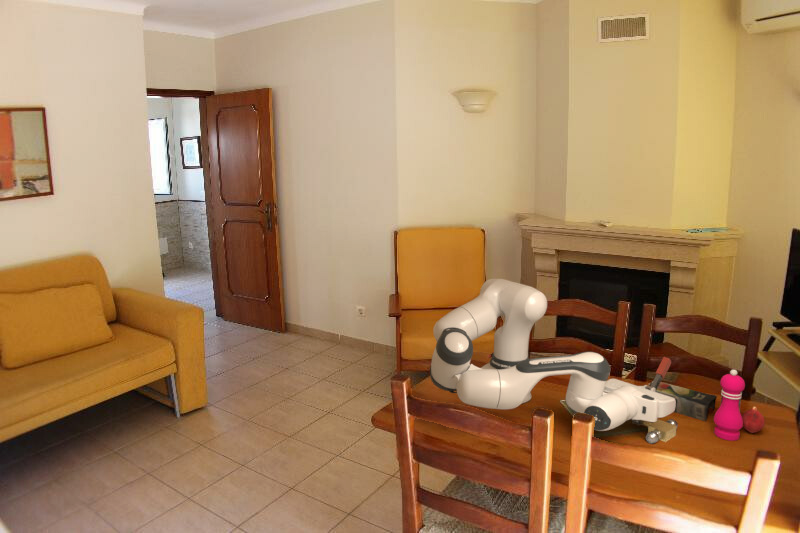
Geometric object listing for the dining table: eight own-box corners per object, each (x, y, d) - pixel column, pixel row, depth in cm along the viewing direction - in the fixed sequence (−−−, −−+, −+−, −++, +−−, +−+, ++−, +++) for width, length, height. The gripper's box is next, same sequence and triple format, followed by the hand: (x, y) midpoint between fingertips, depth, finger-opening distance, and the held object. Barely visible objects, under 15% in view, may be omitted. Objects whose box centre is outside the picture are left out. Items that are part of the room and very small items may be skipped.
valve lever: (631, 420, 169) (663, 356, 176) (633, 424, 170) (665, 360, 177) (637, 423, 167) (669, 358, 174) (640, 426, 168) (671, 362, 176)
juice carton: (638, 403, 185) (640, 385, 184) (649, 393, 192) (651, 376, 191) (705, 423, 171) (708, 404, 170) (715, 412, 178) (717, 394, 177)
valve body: (628, 435, 164) (629, 425, 163) (652, 420, 173) (653, 411, 172) (658, 447, 157) (659, 437, 157) (682, 431, 166) (683, 421, 165)
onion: (763, 439, 161) (766, 413, 159) (739, 434, 164) (742, 408, 162) (763, 431, 165) (766, 405, 164) (740, 426, 168) (743, 401, 167)
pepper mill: (745, 442, 159) (753, 375, 155) (717, 440, 160) (724, 373, 156) (735, 430, 166) (743, 365, 162) (708, 428, 167) (715, 364, 163)
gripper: (593, 400, 171) (618, 387, 180) (660, 424, 156) (683, 410, 164) (594, 380, 170) (619, 368, 178) (662, 403, 154) (685, 389, 163)
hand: (650, 388), depth 171 cm, fingers closed
